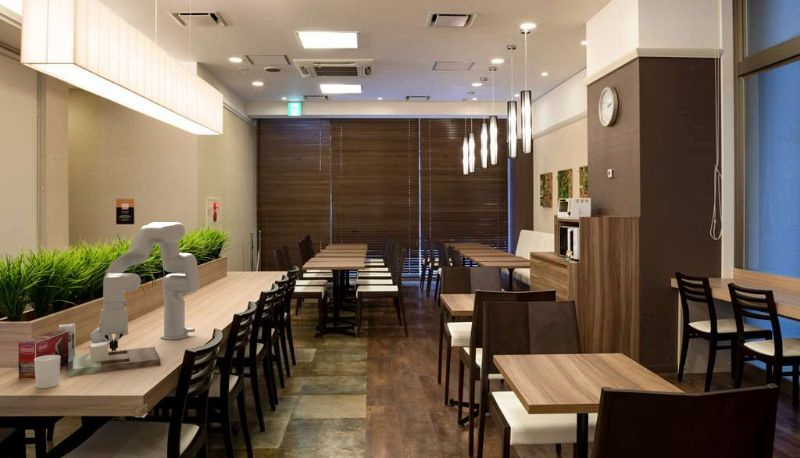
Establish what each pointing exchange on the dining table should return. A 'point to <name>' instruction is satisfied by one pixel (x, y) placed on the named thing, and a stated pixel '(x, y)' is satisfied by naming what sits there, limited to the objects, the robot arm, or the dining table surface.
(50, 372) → the white cup
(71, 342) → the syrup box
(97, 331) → the die
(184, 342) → the dining table surface
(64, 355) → the ice cream box
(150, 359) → the board
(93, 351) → the cream block
